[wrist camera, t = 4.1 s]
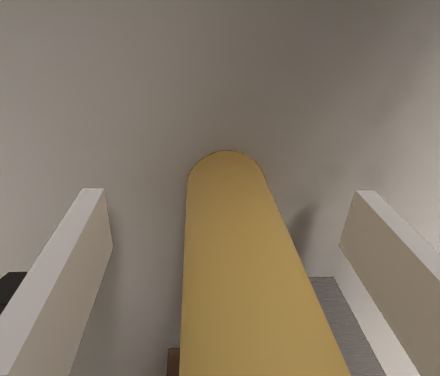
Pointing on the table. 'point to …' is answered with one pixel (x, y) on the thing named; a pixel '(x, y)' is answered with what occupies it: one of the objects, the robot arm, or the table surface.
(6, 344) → the robot arm
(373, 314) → the table surface
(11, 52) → the table surface
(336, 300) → the square bar bit
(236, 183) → the dowel bit
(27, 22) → the table surface
